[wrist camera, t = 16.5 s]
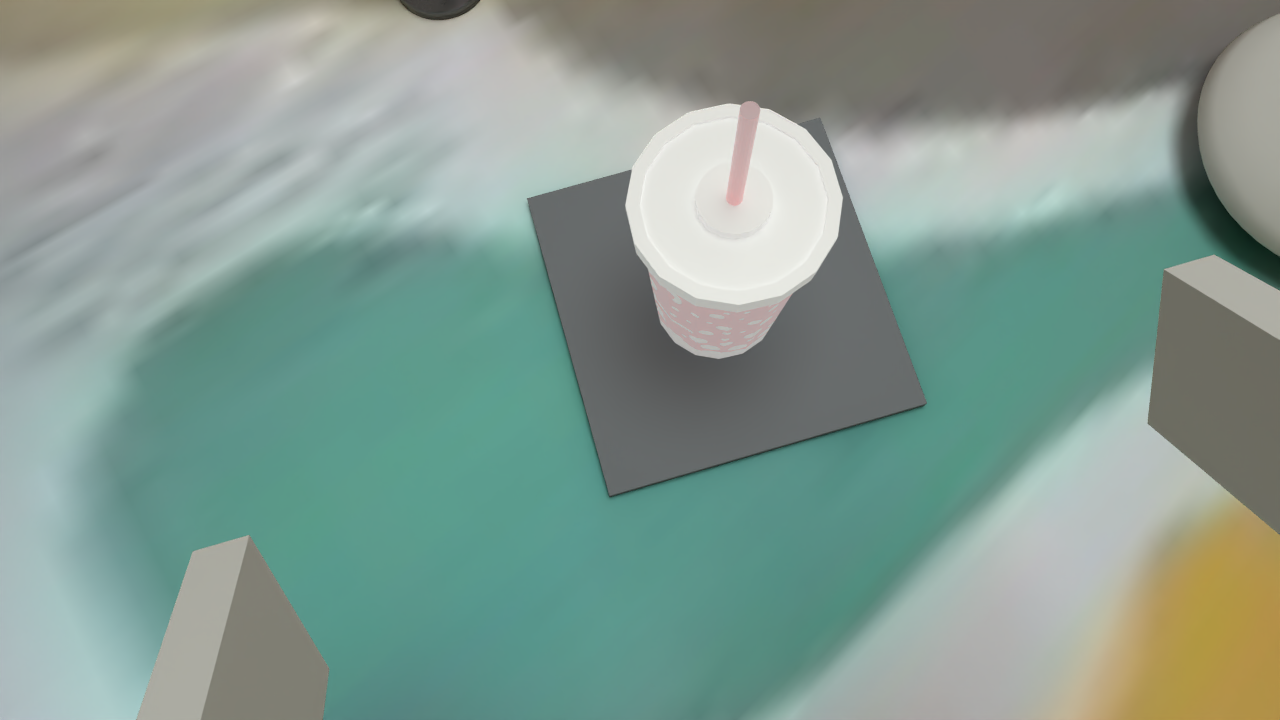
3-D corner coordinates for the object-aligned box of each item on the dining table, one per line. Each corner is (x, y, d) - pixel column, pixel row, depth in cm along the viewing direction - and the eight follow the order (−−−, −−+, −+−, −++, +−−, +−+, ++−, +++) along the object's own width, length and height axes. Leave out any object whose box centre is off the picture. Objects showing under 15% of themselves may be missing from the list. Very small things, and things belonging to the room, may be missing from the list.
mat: (610, 496, 33) (609, 495, 33) (528, 202, 36) (527, 198, 36) (924, 405, 34) (927, 403, 33) (818, 122, 37) (820, 117, 36)
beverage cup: (633, 226, 35) (613, -2, 22) (792, 221, 35) (872, -12, 22) (637, 381, 34) (618, 240, 20) (803, 376, 34) (897, 231, 20)
